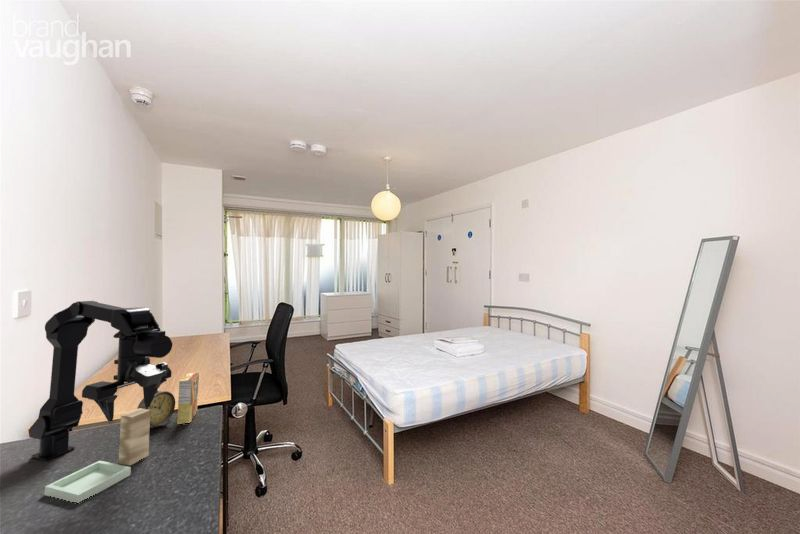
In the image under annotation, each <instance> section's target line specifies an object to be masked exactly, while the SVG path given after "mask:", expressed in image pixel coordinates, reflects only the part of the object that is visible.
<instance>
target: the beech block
mask: <svg viewBox="0 0 800 534" xmlns="http://www.w3.org/2000/svg"><path fill="white" fill-rule="evenodd" d="M119 425H120V430H119V448H118V449H119V450H118V465H123V466H128V467H131V466H132V465H134V464H136V463H138V462H140V461H141V459H142V460H143V458H144V459H145V458H148V457H149V455H150V454H149V452H150V450H149V449H150V431H151V430H150V428H151V427H150V410H148V409H141V408H139V409H134V410H131V411H129V412H126V413H123V414H121V415H120V424H119ZM139 460H140V461H139Z"/></svg>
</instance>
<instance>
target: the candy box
mask: <svg viewBox="0 0 800 534" xmlns="http://www.w3.org/2000/svg"><path fill="white" fill-rule="evenodd" d="M199 377H200V374H199V372H191V373H186V374H185V375H184V376H183V377H181V379H180V380H179V382H178V401H177V402H178V403H177V405H178V406H177V422H176V423H177V424H182V423H190V422H192V421H193V420H194V419H193V417H194V416H195V414H196V411H197V412H198V401H199V399H198V396H199ZM196 415H197V414H196ZM195 417H196V416H195ZM195 417H194V418H195ZM192 419H193V420H192ZM177 424H176V425H177ZM190 424H191V423H190Z"/></svg>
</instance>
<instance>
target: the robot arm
mask: <svg viewBox="0 0 800 534" xmlns="http://www.w3.org/2000/svg"><path fill="white" fill-rule="evenodd" d="M96 320H97V321H102V322H106V323H109V324H110V327H112V328H114V329H116V330H118V332H116V333H115V334H113V335H112V336H113V338H115V339H118V351H117V352H118V353H117V355H118V356H117V359H114V362H113V363H114V365H117V373H116V374H115V375H113V380H114V381H113V382H110V381H103V380H102V381H101V380H100V381H98V382H94V383H91V384H87V385H85V386H84V388H83V389H82V391H81V398H83V399H88V400H90V401H91V400H92V401H94V402H95V403H96V404H97V406H98V407H99V409H100V410H101V412H102V414H103V415H104V417H105V419H106V420H107V422H109V423H111V422H113V421H114V416H115V400H116V399H117V398H118V396H119V395H117V394H116V393H117V391H118V390H119V389H121V388H122V389H123V388H125V387H128V386H132V385H135V384H138V386H139V387H141V388H142V390H143V398H144V403H145V407H150V404H151V402H152V400H153V398H154V395H155V393H156V391H157V390H158V389H159V388H160V387H161V386H162V384H164V383H165V382H167V381H168V379H171V378H172V370H171V368H170V367H169V364H168V363H167V362H165V361H163V362H159V363H157V364H151V359H150V358H156V359H157V358H158V359H162V358H165V357H166V356H168V354H170V352H171V351H172V348H173V342H172V339H171V338H170V336H168V335H166V331H165V330H161V329H160V325H159V323H158V322H157V321H156V318H155V317H154V314H153V313H152V311H151V309H150V308H148V307H145V306H144V307H143V306H141V307H120V306H117V305H111V304H106V303H103V302H98V301H95V300H83V301H82V300H81V301H79V300H78V301H75V302H73V303H71V304H70V306H68V307H66V308H65V309H63V310H61V311H58V312H57V313H55V314H53V315H52V316H51V317H50V318H49V319H48V320H47V321H46V322H45V325H44V330H45V335H46V336H45V337H46V340H47V341H48V342H49V343H50V344H51V346H52V347H53V350H52V351H53V352H52V365H51V376H50V387H49V398H48V399H47V400H46V401H45V403H43V405H42V406H41V408H40V409H39V413H38V416H37V417H38V418H37V419H36V420H35V421H34V422H33V424H32V425H31V426H30V427H29V428H28V437H29V438H30V439H35V440H38V441H39V442H38V444H39V445H38V452H37V453H34V454H31V457H30V458H32V459H33V458H34V459H38V460H41V461H49V460H51V459H52V460H53V459H54V458H56V457H59V456H62V455H64V454H66V453H68V452H71V451H73V450H75V448H76V447H75V446H72V445H69V444H70V443H69V442H70V436H69V435H70V429H73V428H76V427H78V426H79V424H80V420H81V417H82V414H83V404H84V401H82V400H80V399H78V397H77V396H76V395H75V390H76V388H75V387H76V376H77V375H76V374H77V364H78V355H79V354H78V351H79V345H80V344H81V343H82V342H83V341H84V340H85V338H86V337H87V336H88V335H87V334H88V330H89V327H90V326H92V324H94V323H95V321H96ZM159 386H160V387H159ZM158 387H159V388H158Z"/></svg>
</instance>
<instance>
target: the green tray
mask: <svg viewBox="0 0 800 534" xmlns="http://www.w3.org/2000/svg"><path fill="white" fill-rule="evenodd" d="M131 470H132V467H131V466H128V465H124V464H119V463H114V462H109V461H103V460H98V461H96V462H93V463H92V464H89V465H87V466H85V467H83V468H81V469H79V470H76V471H75V472H73V473H71V474H68V475H67V476H64V477H62V478H60V479H58V480H56V481H54V482H53V481H52V482H51V483H49V484H47V485H45V486H44V496H46V497H50V496H51V497H50V498H53V497H55V498H54V499H57V498H59V499H58V500H61V499H63V500H62V501H64V500H66V501H65V502H68V501H70V502H69V503H72V502H77V503H79V502H80V501H82V500H84V499H87V498H88V499H90V498H91V497H90V496H92V497H93V495H94V496H95V494H96V495H97V494H99V493H100V492H103V491H105V490H107V489H108V488H110V487H111V486H114V485H115V484H117V483H119V482H121V481H122V480H124V479H126V478H128V477H130V476H131V472H132V471H131ZM89 497H90V498H89ZM88 499H87V500H88ZM79 504H80V503H79Z"/></svg>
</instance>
